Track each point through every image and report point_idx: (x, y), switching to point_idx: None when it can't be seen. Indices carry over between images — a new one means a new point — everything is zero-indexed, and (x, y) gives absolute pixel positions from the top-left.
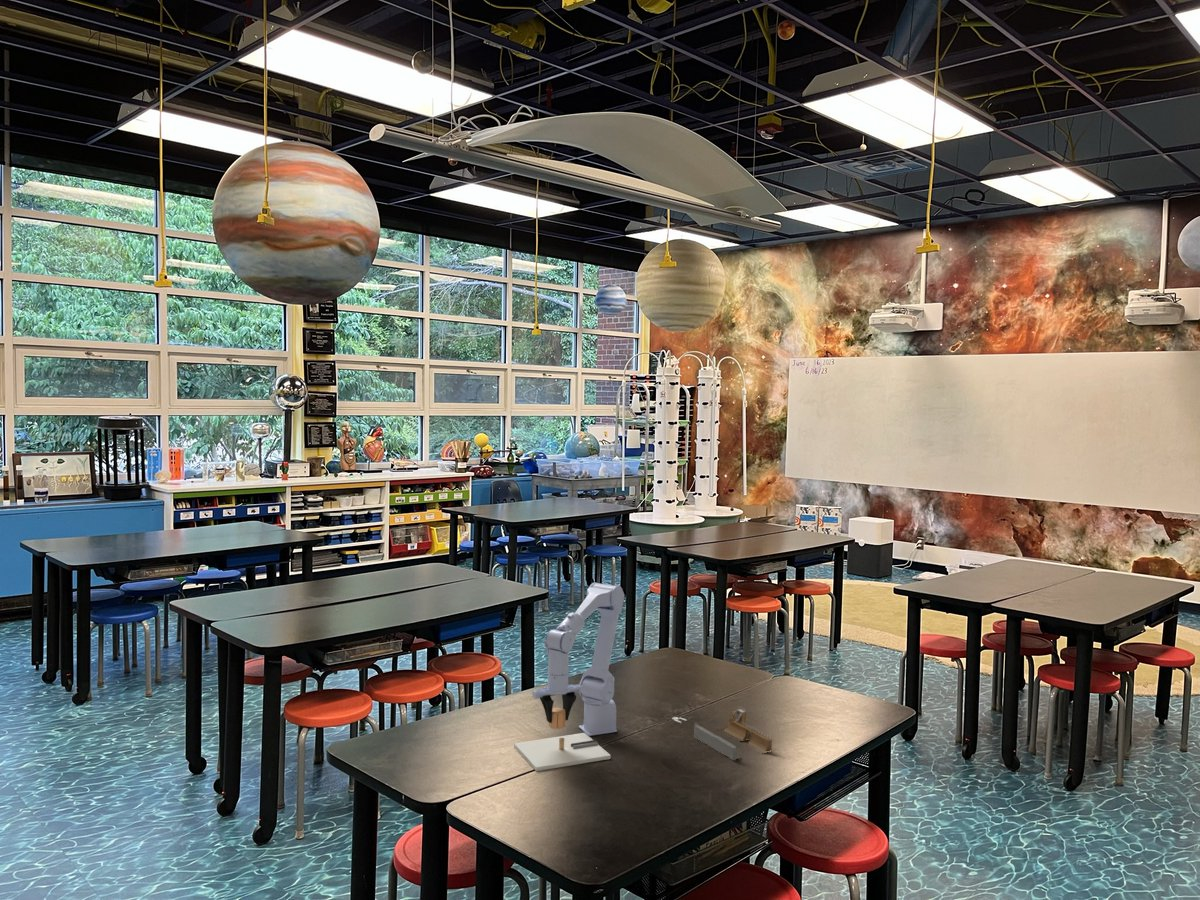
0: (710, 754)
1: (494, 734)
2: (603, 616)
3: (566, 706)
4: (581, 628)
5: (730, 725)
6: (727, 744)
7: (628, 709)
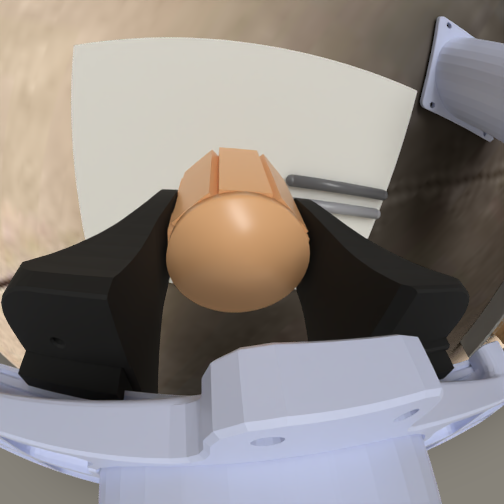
0: (468, 319)
1: None
2: None
3: (313, 309)
4: None
5: None
6: (477, 346)
7: None
